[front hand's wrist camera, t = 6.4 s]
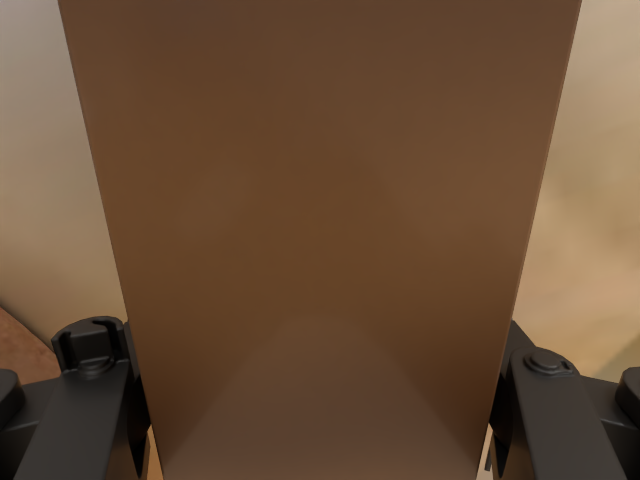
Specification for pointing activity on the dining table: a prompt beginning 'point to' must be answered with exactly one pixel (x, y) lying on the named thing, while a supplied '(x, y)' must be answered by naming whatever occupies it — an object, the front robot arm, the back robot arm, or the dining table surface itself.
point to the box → (319, 219)
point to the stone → (25, 352)
